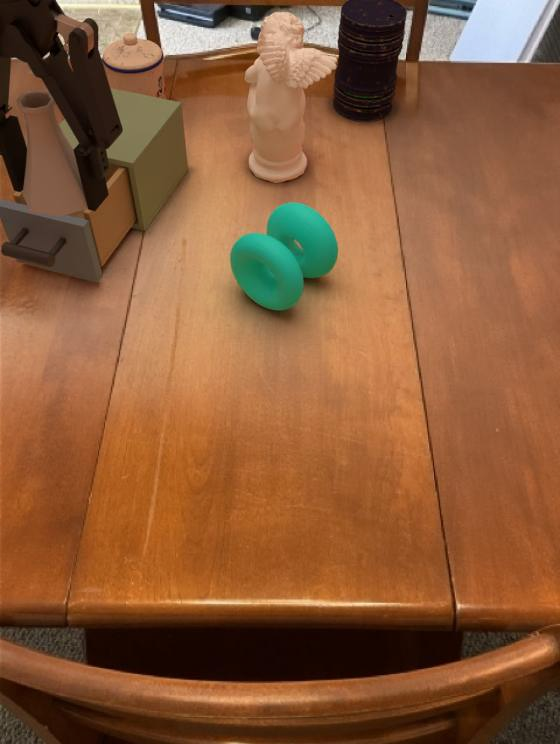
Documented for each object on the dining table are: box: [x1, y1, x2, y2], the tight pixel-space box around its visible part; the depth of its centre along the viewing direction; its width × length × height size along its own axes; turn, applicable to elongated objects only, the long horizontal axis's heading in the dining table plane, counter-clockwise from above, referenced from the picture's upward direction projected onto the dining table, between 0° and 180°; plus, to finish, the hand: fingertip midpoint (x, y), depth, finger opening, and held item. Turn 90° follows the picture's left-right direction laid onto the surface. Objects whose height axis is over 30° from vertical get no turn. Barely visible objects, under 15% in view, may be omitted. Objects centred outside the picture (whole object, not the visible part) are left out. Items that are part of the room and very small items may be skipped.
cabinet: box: [58, 88, 189, 232], centre depth 92 cm, size 15×13×11 cm
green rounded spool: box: [229, 201, 339, 311], centre depth 81 cm, size 10×10×10 cm
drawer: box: [0, 163, 137, 284], centre depth 83 cm, size 18×11×9 cm, turn 161°
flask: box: [15, 89, 88, 216], centre depth 62 cm, size 7×7×10 cm
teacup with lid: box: [101, 32, 168, 100], centre depth 105 cm, size 12×9×12 cm
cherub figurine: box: [244, 11, 338, 184], centre depth 91 cm, size 12×12×22 cm
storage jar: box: [332, 0, 408, 123], centre depth 105 cm, size 10×10×15 cm
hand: (61, 192), depth 66 cm, fingers closed on flask, 7 cm apart
